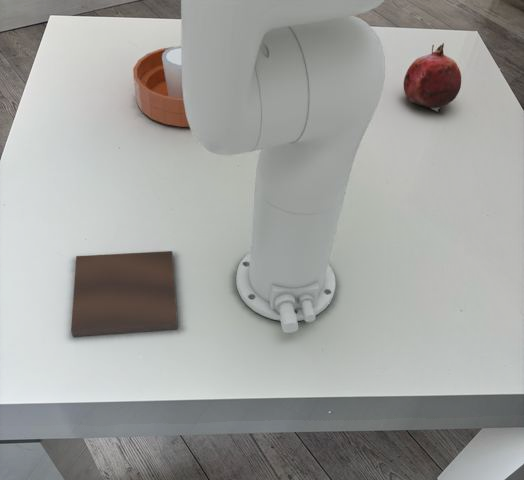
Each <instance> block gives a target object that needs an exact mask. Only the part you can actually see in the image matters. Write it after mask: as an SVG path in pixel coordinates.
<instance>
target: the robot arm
mask: <svg viewBox="0 0 524 480" xmlns="http://www.w3.org/2000/svg"><path fill="white" fill-rule="evenodd" d="M385 1H386V0H180V17H181V18H180V27H181V28H180V29H181V31H180V33H181V34H180V36H181V40H180V41H181V45H180V46H181V64H182V91H183V101H184V107H185V112H186V117H187V120H188V123H189V129H190V132H191V133H192V135H193V137H194V139H195V141H197V143H199V145H200V146H201V147H202V148H204V149H205V150H206V151H208V152H210V153H212V154H215V155H219V156H233V155H240V154H241V155H242V154H246V153H252V152H255V151H260V152H259V154H258V158H257V163H256V170H255V180H254V191H253V192H254V193H253V194H254V195H253V207H252V208H253V209H252V222H251V239H250V251H249V252H248V253H247V254H246V255H245V256H244V257H243V258H242V260H241V261H240V262H239V265H238V268H237V270H236V289H237V293H238V294H239V296H240V298H241V300H242V301H243V302H244V303H245V304H246V306H247V307H249V308H250V309H251V310H252V311H254V312H255V313H257V314H259V315H261V316H263V317H264V318H267V319H270V320H275V321H279V322H280V326H281V330H282V332H283V333H285V334H293V333H296V332H297V331H298V330H299V328H300V327H299V322H300V321H304V322H305V323H313V322H314V321H315V320H316V319H317V317H316V316H317V315H320V314H321V313H322V312H323V311H325V310H326V308H328V306H329V305H330V303H331V302H332V300H333V298H334V295H335V291H336V286H337V285H336V283H337V282H336V281H337V280H336V275H335V273H334V270H333V267H331V265H330V264H329V263H330V259H331V255H332V251H333V246H334V243H335V238H336V233H337V230H338V225H339V221H340V217H341V213H342V212H341V211H342V208H343V204H344V200H345V196H346V193H347V189H348V185H349V180H350V176H351V173H352V169H353V165H354V162H355V158H356V155H357V153H358V150H359V147H360V145H361V143H362V140H363V137H364V136H365V133H366V131H367V130H368V127H369V125H370V123H371V121H372V119H373V117H374V115H375V114H376V110H377V108H378V105H379V102H380V100H381V96H382V93H383V91H384V85H385V78H386V57H385V52H384V48H383V45H382V43H381V40H380V38H379V36H378V34H377V32H376V31H375V30H374V28H372V27H371V25H370V24H368V23H367V22H366V21H364V20H363V19H362V18H360V17H357V15H360V14H363V13H367V12H370V11H372V10H373V9H376V8H378V7H379V6H380V5H381V4H383V3H384V2H385ZM298 321H299V322H298Z"/></svg>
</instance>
